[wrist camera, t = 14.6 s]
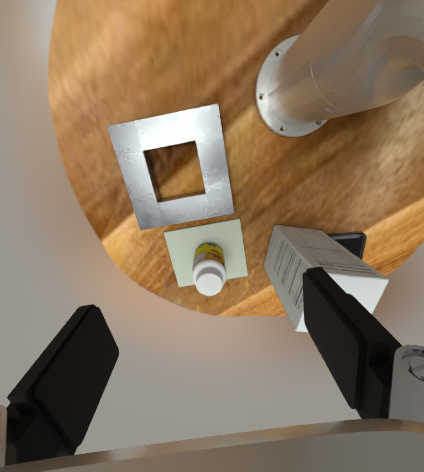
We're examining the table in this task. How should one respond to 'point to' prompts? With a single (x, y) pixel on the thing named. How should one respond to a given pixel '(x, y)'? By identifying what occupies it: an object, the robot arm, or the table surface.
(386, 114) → the table surface
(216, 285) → the supplement bottle
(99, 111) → the table surface
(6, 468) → the robot arm
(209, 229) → the sage mat
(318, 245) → the supplement box
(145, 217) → the socket block
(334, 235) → the phone
